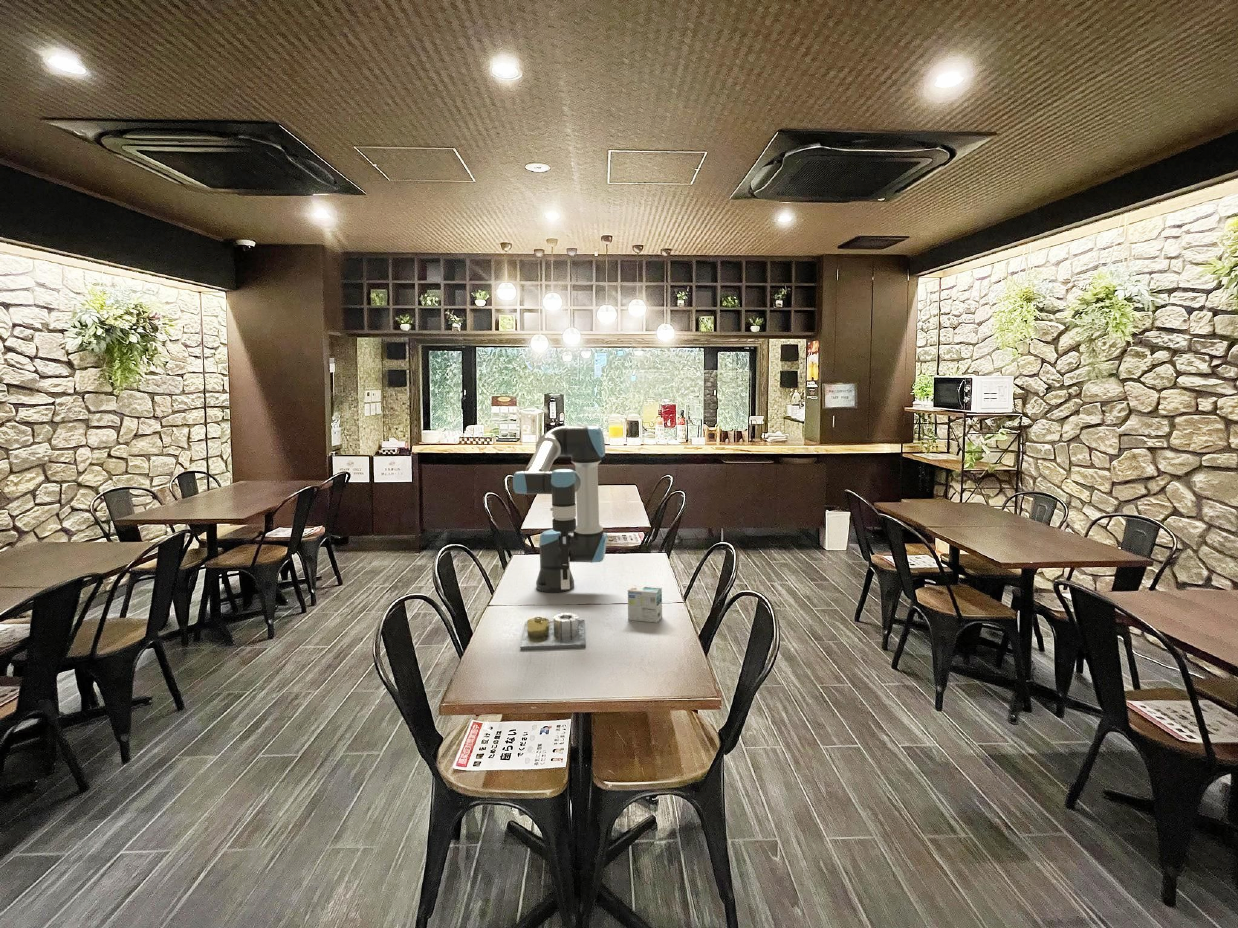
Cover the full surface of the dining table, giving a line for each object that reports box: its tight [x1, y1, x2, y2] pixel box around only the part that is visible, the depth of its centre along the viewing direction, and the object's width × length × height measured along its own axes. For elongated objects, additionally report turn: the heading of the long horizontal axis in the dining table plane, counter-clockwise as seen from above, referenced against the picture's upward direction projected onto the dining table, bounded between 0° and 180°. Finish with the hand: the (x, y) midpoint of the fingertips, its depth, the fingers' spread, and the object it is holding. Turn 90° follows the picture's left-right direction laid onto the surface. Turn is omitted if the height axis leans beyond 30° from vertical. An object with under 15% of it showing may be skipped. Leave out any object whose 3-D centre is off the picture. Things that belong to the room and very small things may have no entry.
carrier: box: [519, 616, 587, 651], centre depth 226 cm, size 22×20×6 cm
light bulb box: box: [627, 584, 663, 624], centre depth 242 cm, size 11×7×11 cm, turn 71°
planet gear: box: [553, 612, 580, 637], centre depth 226 cm, size 8×8×5 cm
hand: (565, 582), depth 227 cm, fingers open, 13 cm apart
